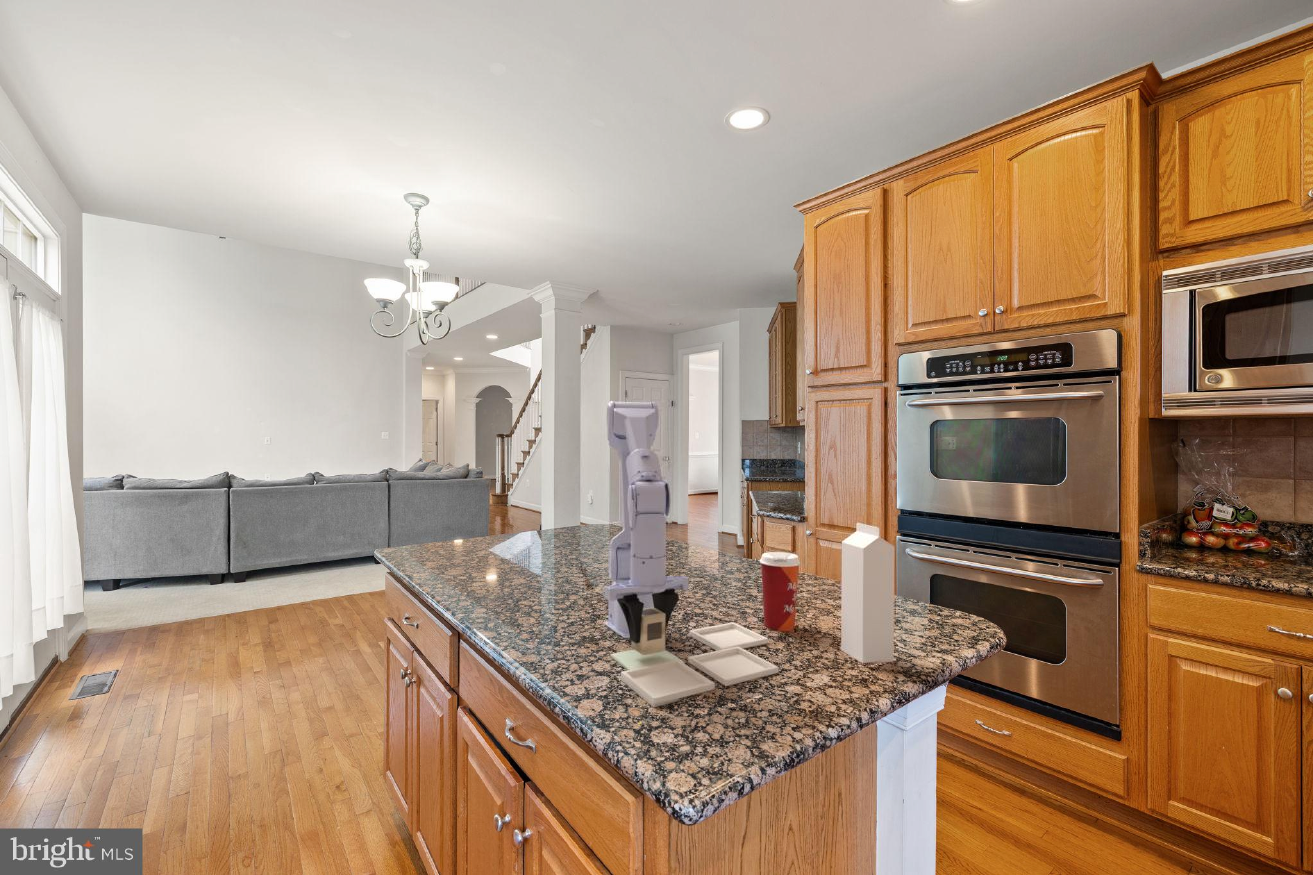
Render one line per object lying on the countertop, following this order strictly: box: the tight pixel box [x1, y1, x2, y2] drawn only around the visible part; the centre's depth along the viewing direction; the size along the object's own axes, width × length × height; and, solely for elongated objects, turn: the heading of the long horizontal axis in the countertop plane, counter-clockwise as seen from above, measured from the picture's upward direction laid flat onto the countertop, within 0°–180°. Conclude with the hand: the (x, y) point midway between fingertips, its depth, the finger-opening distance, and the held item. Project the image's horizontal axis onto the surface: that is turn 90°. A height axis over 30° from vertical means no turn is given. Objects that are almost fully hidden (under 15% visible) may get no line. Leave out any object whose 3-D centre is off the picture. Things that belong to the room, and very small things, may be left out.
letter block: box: [631, 607, 666, 655], centre depth 92 cm, size 4×4×6 cm
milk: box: [840, 522, 895, 665], centre depth 95 cm, size 6×6×22 cm
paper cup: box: [759, 551, 802, 632], centre depth 109 cm, size 8×8×14 cm
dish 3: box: [687, 646, 780, 687], centre depth 89 cm, size 10×10×1 cm
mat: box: [609, 649, 686, 671], centre depth 92 cm, size 9×9×1 cm
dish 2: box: [688, 621, 769, 651], centre depth 102 cm, size 10×10×1 cm
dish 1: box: [620, 659, 715, 708], centre depth 83 cm, size 10×10×1 cm
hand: (647, 638), depth 92 cm, fingers closed on letter block, 4 cm apart
